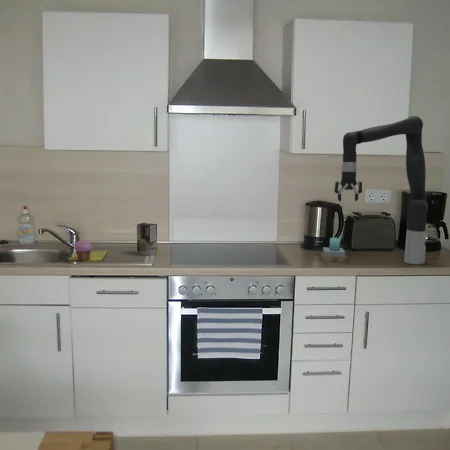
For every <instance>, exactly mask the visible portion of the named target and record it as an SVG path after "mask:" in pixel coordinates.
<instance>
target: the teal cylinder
mask: <svg viewBox="0 0 450 450" xmlns="http://www.w3.org/2000/svg"><path fill="white" fill-rule="evenodd" d="M340 244H341V238H340V237H329V247H328V248H329V250H332V251H339V250H340V248H341V245H340Z"/></svg>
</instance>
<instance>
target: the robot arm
mask: <svg viewBox="0 0 450 450" xmlns="http://www.w3.org/2000/svg"><path fill="white" fill-rule="evenodd" d="M423 127H424V122H423V120H422V118H421V117H419V116H417V115H411V116H408V117H407V118H405V119H402V120H399V121H397V122H393V123H389V124H383V125H377V126H372V127H368V128H364V129H362V130H361V129H360V130H355V131H350V132H346V133H345V134H344V135H343V138H342V150H343V152H342V165H341V177H340V178H341V181H338V180H337V181H335V183H334V191H333V192H334V193H335V194H337V200H338V202H341V201H342V192H344V191H345V190H352V191H353V192H354V201H355V202H358V200H359V194H361V193H363V182H362V181H357V169H358V167H357V145H360V144H363V143H370V142H375V141H379V140H383V139H387V138H390V137H394V136H395V137H396V136H401V135H405V139H406V140H405V141H406V152H405V153H406V154H405V169H406V178H407V181H408V186H409V190H410V192H409V193H410V195H409V198H410V199H409V204H408V207H407V218H406V219H407V220H406V236H405V249H404V260H403V261H404V263H406V264H408V265H409V264H411V265H424V264H425V263H426V262H425V261H426V249H427V248H426V247H427V246H426V244H425V243H426V231H427V217H428V210H429V204H428V200H427V195H426V194H427V193H426V173H427V172H426V171H427V170H426V158H425V153H424V149H423V141H422V140H423V139H422V137H423V135H422V134H423ZM339 186H341V187H340V188H339ZM356 186H358V189H357V188H356Z"/></svg>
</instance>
